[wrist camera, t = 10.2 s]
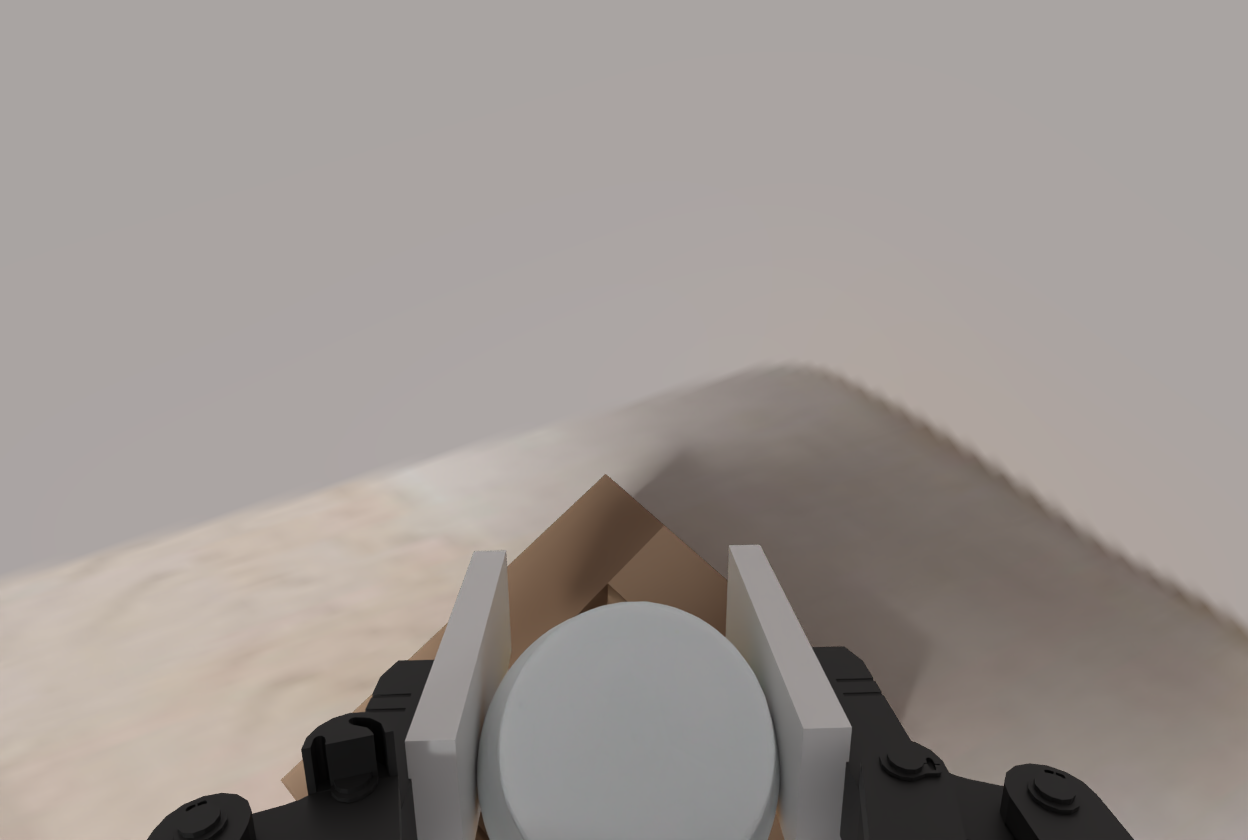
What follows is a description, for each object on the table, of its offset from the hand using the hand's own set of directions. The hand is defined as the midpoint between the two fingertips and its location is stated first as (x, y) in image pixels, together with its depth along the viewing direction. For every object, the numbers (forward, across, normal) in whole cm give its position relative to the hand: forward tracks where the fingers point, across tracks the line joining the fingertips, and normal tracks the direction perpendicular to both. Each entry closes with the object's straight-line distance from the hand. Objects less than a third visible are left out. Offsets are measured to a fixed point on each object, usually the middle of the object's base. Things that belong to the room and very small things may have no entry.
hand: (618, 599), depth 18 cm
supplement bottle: (0, 0, -5) cm, 5 cm away
